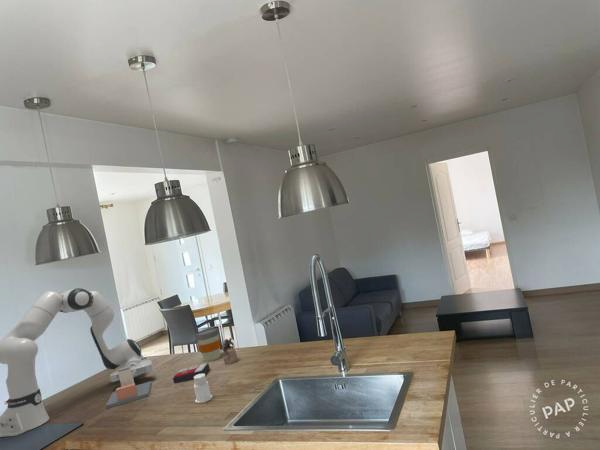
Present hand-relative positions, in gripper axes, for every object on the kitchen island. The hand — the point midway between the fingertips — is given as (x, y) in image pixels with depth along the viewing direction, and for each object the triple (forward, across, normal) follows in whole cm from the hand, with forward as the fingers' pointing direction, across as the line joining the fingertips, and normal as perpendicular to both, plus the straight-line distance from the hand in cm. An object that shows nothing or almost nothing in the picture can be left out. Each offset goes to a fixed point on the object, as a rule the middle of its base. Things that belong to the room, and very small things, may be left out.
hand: (130, 376), depth 215 cm
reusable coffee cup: (-16, +40, +7) cm, 43 cm away
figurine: (+1, +48, +7) cm, 49 cm away
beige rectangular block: (+9, 0, +5) cm, 10 cm away
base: (+9, 0, +7) cm, 11 cm away
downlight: (+43, +33, +7) cm, 55 cm away
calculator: (+6, +28, +8) cm, 30 cm away
